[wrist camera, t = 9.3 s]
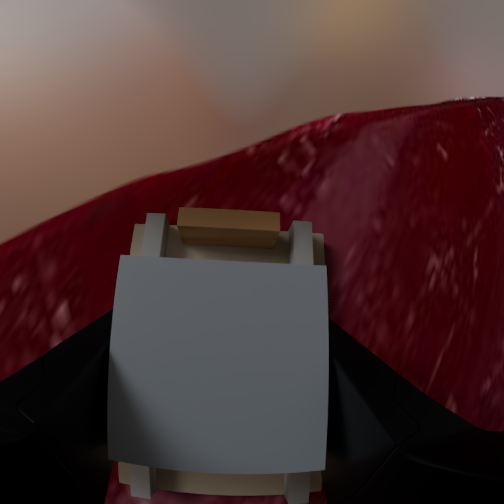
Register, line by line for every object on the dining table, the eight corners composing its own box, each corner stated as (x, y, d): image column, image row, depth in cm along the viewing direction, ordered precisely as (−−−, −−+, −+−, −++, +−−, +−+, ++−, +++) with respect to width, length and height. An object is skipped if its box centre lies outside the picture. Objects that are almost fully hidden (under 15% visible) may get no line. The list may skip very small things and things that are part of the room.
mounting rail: (316, 485, 14) (335, 507, 11) (124, 477, 14) (104, 498, 10) (318, 240, 19) (336, 215, 16) (138, 230, 19) (123, 204, 15)
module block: (267, 412, 14) (324, 469, 5) (173, 407, 13) (108, 459, 5) (269, 316, 15) (325, 252, 7) (178, 311, 15) (122, 241, 7)
